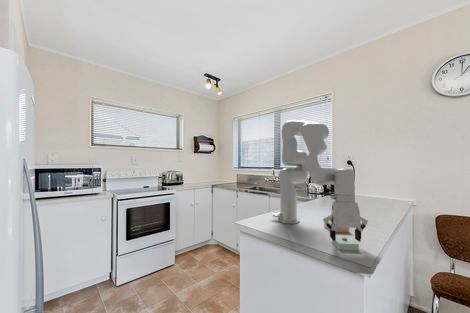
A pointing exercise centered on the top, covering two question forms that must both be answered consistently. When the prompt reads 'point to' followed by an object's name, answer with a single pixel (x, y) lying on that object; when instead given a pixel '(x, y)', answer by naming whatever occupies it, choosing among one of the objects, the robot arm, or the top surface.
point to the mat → (338, 249)
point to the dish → (337, 228)
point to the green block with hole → (346, 243)
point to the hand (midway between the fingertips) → (345, 240)
